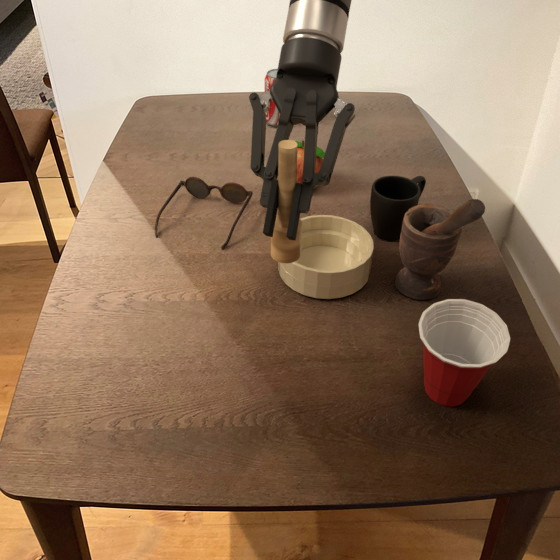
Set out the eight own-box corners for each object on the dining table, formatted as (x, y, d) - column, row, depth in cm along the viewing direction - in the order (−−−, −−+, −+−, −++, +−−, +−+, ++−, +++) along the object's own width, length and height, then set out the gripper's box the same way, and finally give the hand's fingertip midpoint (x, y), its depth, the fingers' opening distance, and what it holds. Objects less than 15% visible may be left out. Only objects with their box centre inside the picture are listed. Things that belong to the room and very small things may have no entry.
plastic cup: (389, 396, 77) (403, 334, 69) (426, 348, 83) (442, 286, 76) (466, 439, 72) (490, 377, 64) (499, 385, 79) (524, 322, 71)
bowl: (378, 253, 100) (382, 225, 96) (356, 311, 89) (360, 282, 85) (295, 235, 104) (296, 207, 100) (265, 288, 93) (264, 259, 89)
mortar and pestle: (471, 290, 93) (504, 183, 80) (449, 321, 88) (480, 211, 75) (406, 263, 98) (427, 158, 85) (382, 290, 93) (400, 183, 80)
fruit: (307, 202, 112) (309, 156, 105) (268, 186, 116) (268, 141, 110) (332, 184, 117) (335, 139, 110) (294, 169, 121) (295, 125, 115)
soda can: (284, 114, 141) (285, 65, 133) (295, 125, 137) (296, 75, 129) (260, 119, 139) (260, 69, 131) (271, 130, 135) (270, 79, 127)
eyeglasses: (253, 205, 111) (252, 182, 108) (228, 251, 100) (226, 227, 97) (182, 194, 114) (179, 171, 111) (150, 237, 103) (146, 214, 100)
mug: (434, 227, 106) (444, 182, 100) (390, 252, 100) (398, 206, 94) (400, 207, 111) (408, 163, 105) (356, 230, 105) (362, 185, 99)
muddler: (304, 248, 77) (309, 139, 67) (295, 266, 74) (299, 155, 64) (276, 242, 78) (277, 133, 68) (266, 259, 75) (265, 149, 65)
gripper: (373, 69, 73) (343, 250, 72) (258, 57, 76) (226, 232, 75) (374, 40, 66) (340, 241, 65) (245, 28, 69) (210, 222, 67)
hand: (279, 236), depth 70 cm, fingers closed on muddler, 2 cm apart
